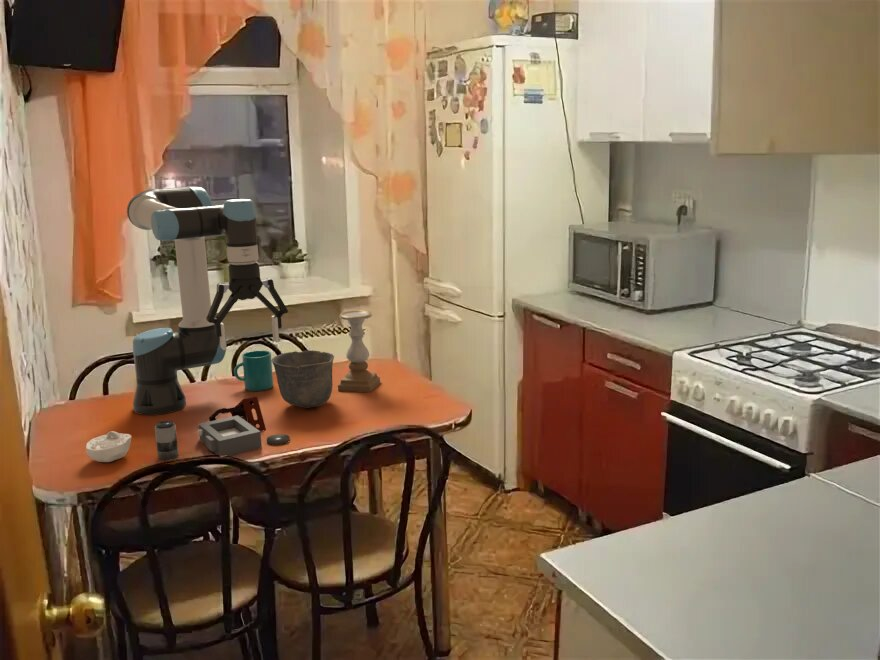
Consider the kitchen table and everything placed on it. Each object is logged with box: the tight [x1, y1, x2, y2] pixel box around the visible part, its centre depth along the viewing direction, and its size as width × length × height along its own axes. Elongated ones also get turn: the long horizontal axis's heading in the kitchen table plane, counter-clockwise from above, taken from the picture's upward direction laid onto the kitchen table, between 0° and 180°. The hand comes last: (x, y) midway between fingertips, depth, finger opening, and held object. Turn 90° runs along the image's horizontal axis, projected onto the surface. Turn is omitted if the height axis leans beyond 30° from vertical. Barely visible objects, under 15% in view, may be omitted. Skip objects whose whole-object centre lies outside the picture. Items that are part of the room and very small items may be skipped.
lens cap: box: [266, 433, 291, 446], centre depth 221 cm, size 6×6×1 cm
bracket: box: [208, 396, 267, 432], centre depth 234 cm, size 10×14×10 cm
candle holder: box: [337, 310, 381, 393], centre depth 264 cm, size 11×11×24 cm
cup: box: [233, 350, 274, 392], centre depth 266 cm, size 9×12×11 cm
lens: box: [154, 420, 179, 462], centre depth 211 cm, size 5×5×9 cm
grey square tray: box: [197, 415, 263, 457], centre depth 219 cm, size 16×12×4 cm
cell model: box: [85, 430, 132, 463], centre depth 211 cm, size 10×12×7 cm
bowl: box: [271, 349, 335, 409], centre depth 247 cm, size 18×18×15 cm
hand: (250, 345), depth 212 cm, fingers open, 13 cm apart
